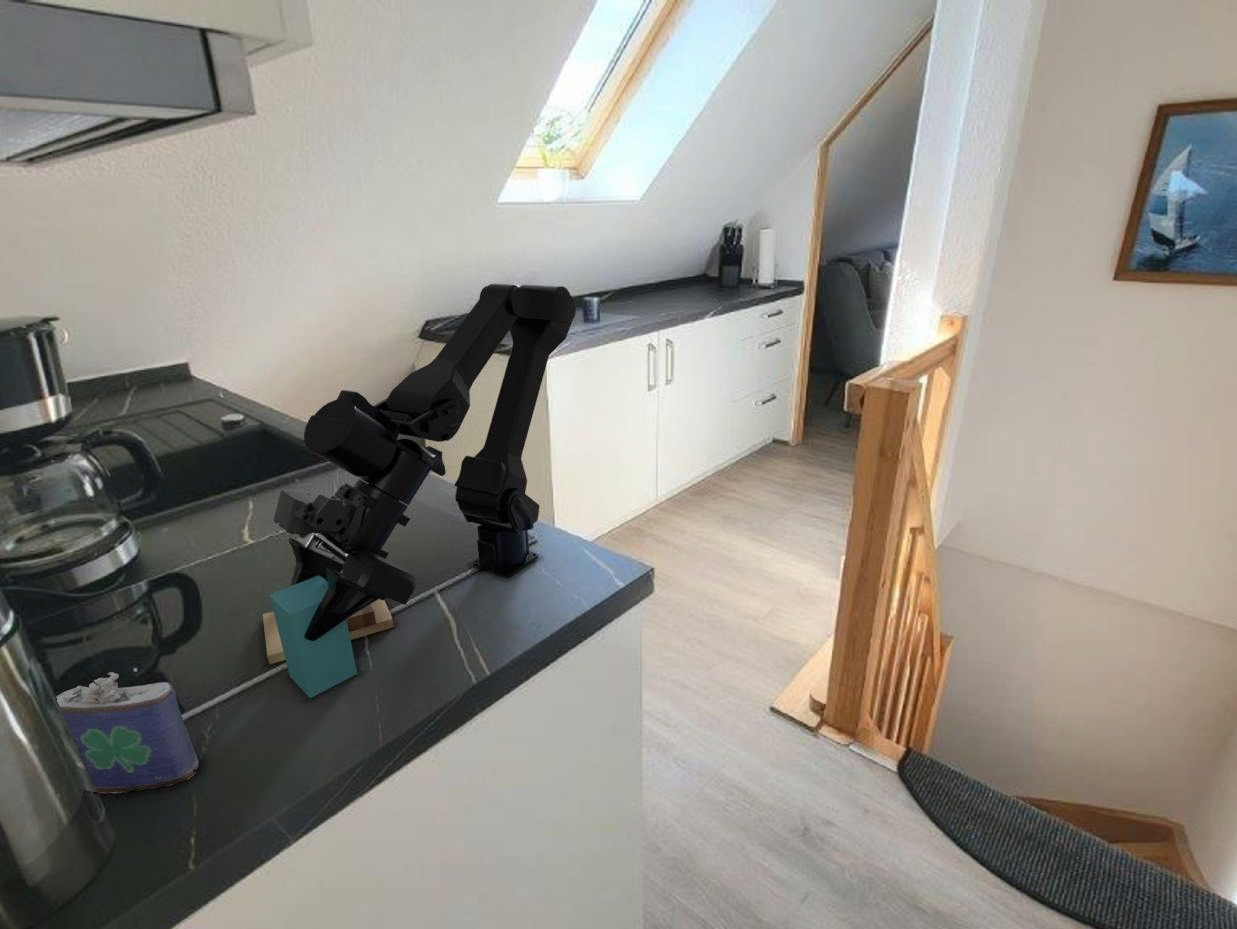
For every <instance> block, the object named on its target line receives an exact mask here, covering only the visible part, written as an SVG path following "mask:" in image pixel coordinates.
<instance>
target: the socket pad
mask: <svg viewBox="0 0 1237 929" xmlns="http://www.w3.org/2000/svg"><path fill="white" fill-rule="evenodd" d="M346 620H347V625H348V630H349V635H350V640H351V641H353V640H355V639H359V638H362V637H366V636H370V635H372V634H376V633H379V632H382V631H385V630H389V629H392V628H394V625H395V624H394V620H393V616H392V614H391V612H390V610H389V608H388V606H387V603H386V600H380V599H378V600H376V601H375V602H373V603H371V604H370V605H368V606H366V607H365V608H363V609H361V610H360V611H358V612H356V613H355V614H353V615H352V616H350V617H349V618H347V619H346ZM262 622H263V629H264V630H263V631H264V639H265V648H266V657H267V662H268V664H269V665H274V664H278V663H281V662H284V661H286V659H285V655H284V651H283V647H282V643H281V640H280V636H279V632H278V628H277V624H276V620H275V616H274V612H273V611H268V612H265V613H262Z"/></svg>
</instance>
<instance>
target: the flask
mask: <svg viewBox="0 0 1237 929" xmlns="http://www.w3.org/2000/svg"><path fill="white" fill-rule="evenodd" d="M107 675H108V676H109V677H99V678H98V677H97V679H94V680H93V682H91V683H90V684H89V685H88V686H82V685H78V686H76V687H74V688H71V689H68V690H64V691H63V692H62V693H60V694H57V695H56V696H55V698H57V702H58V704H59V706H60V708H61V710H62V712H63V714H64V716H65V719H66V721H67V722H68V725H69V727H70V729H71V731H72V734H73V736H74V739H75V740H76V742H77V745H78V748H79V749H80V751H81V755H82V757H83V759H84V762H85V763H86V766H87V769H88V771H89V774H90V776H91V777H92V780H93V781H94V784H95V787H96V788H97V792H98V793H97V794H121V793H129V792H131V791H144V790H152V789H156V788H157V789H158V788H163V787H170V786H173V785H176V784H178V783H182V782H183V783H184V782H185V781H189V780H190V779H191V778H192V777H194V775H196V773H197V771H198V770H199V767H200V766H199V759H198V756H197V754H196V751H195V749H194V747H193V744H192V741H191V739H190V736H189V732H188V729H187V726H186V723H185V722H184V718H183V715H182V712H181V709H180V707H179V703H178V699H177V693H176V690H175V689H174V686H173V685H172V683H171V682H166V681H162V682H155V683H148V684H143V685H134V686H126V687H119V683H118V682H117V680H118V679H119V678H120V675H119V674H118V673H115V672H113V671H110V672H108V673H107Z"/></svg>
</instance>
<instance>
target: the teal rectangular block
mask: <svg viewBox="0 0 1237 929" xmlns="http://www.w3.org/2000/svg"><path fill="white" fill-rule="evenodd" d="M328 586H329V585H328V582H327V581H326V580H325V579H323V578H322V577H321V576H320V575H318V576H315V577H313V578H310V579H308V580H305V581H303V582H300V583H298V584H295V585H293V586H288V587H285V588H283V589H281V590H278V591H275V592H272V593H270V594H269V600H270V603H271V608H272V612H274V616H275V620H276V624H277V628H278V632H279V636H280V640H281V643H282V647H283V651H284V655H285V659H286V660H285V663H286V668H287V671H288V674H289V677H290V678H291V679H292V681H293V682H294V683H295V684H296V685H297V686H298V687H299V688H300V690H301V691H303V693H304V694H305V695H306V696H307V697H308V698H309V699H312V698H314V697H316V696H318V695H320V694H321V693H324V692H326V691H328V690H330V689H332V688H333V687H335V686H337V685H340V684H341V683H343V682H345V681H346V680H348V679H350V678H352V677H354V676H356V675H358V669H357V664H356V660H355V655H354V650H353V645H352V640H350V635H349V630H348V625H347V620H344V621H343V622H341V623H340V624H338V625H337V626H336V627H334V628H333V629H331V630H330V631H328V632H327V633H325V634H324V635H323V636H321V637H320V638H318V639H317V640H315V641H311V640H307V639H306V638H305V637H304V635H305V633H306V631H307V628H308V626H309V624H310V622H311V620H312V618H313V616H314V614H315V612H316V610H317V608H318V606H319V604H320V603H321V601H322V599H323V597H324V595H325V593H326V591H327V589H328Z"/></svg>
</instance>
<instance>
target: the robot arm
mask: <svg viewBox="0 0 1237 929" xmlns="http://www.w3.org/2000/svg"><path fill="white" fill-rule="evenodd" d="M576 313H577V303H576V300H575V298H574V297H573V296H572V294H571V293H570V290H568V288H567V287H565V286H562V285H541V284H540V285H537V284H522V285H518V284H509V283H507V284H506V283H490V284H488V285H485V286H484V287H482V289H481V291H480V293H479V298H478V300H477V302H475V304H474V306H473V307H472V309H471V310H470V311H469V312H468V313H467V315H466V316H465V317H464V319H463V320H462V321H461V323H460V325H459V326H458V327H457V329H456V330H455V331H454V333H453V334H452V335H451V337H450V338H449V340H447V342H446V343H445V344H444V346H442V349H441V350H440V351H439V352H438V354H437V355H436V356H435V358H434V359H433V360H431V362H429V363H428V364H426V365H424V366H422V367H420V368H418V369H416V370H415V371H412V372H410V373H409V374H408V375H407V376H406V377H405V378H403V379H402V381H401V382H399V383H398V384H397V385H396V386H395V387H394V388H393V389H392V390H391V391H390V393H389V394H388V396H387V398H385V399H383V400H381V401H379V402H377V403H376V404H374V405H373V404H371V403H370V401H368V399H367V398H366V397H365V396H364V395H362V394H361V393H359V392H358V391H354V390H346V389H342V390H340V392H339V393H338V396H337V398H336V399H333V400H331V401H329V402H327V403H326V404H324V405H322V406H321V407H320V408H319V409H318V410H317V411H316V412H315V413H314V414H313V415H311V416H310V417H309V419H308V421H307V423H306V425H305V427H304V433H303V441H304V445H305V447H306V448H307V449H308V451H310V452H312V453H313V454H315V455H316V456H319V457H321V458H323V459H324V460H326V461H328V462H329V463H331V464H333V465H335V466H337V467H338V468H340V469H342V470H344V471H345V472H347V473H349V474H351V475H352V476H354V477H359V478H358V479H357V480H356V482H355V483H354V485H353V486H352V485H350V484H348V483H346V482H345V483H344V484H343V485H340V487H339V488H338V489H337V491H336V492H335V494H331V493H324V492H319V491H312V490H311V491H310V490H300V489H290V488H282V489H281V490H280V493H279V495H278V496H279V497H278V500H277V505H276V508H275V512H274V516H273V519H272V520H273V523H275V524H278V526H279V527H280V528H282V529H283V530H284V531H286V532H287V533H288V534H291V535H298V536H297V538H296V539H294V538H291V537H288V543H289V544H288V545H290V546H291V548H292V552H293V555H294V558H295V565H294V571H293V574H292V577H291V582H290V586H293V585H295V584H298V583H300V582H303V581H305V580H308V579H310V578H313V577H315V576H318V575H320V576H321V577H322V578H323V579H325V580H326V581H327V582H328V585H329V586H328V589H327V591H326V593H325V595H324V597H323V599H322V601H321V603H320V604H319V606H318V608H317V610H316V612H315V614H314V616H313V618H312V620H311V622H310V624H309V626H308V628H307V631H306V633H305V635H304V637H305V638H306V639H307V640H311V641H315V640H317V639H318V638H320V637H321V636H323V635H324V634H325V633H327V632H328V631H330V630H331V629H333V628H334V627H336V626H337V625H338V624H340V623H341V622H343V621H344V620H346V619H347V618H349V617H350V616H352V615H353V614H355V613H356V612H358V611H360V610H361V609H363V608H365V607H366V606H368V605H370V604H371V603H373V602H375V601H376V600H378V599H380V600H384V601H386V599H387V598H388V599H389V600H392V601H394V602H397V603H399V604H401V605H404V606H406V605H407V604H408V602H409V601H410V599H411V597H412V595H413V594H414V592H415V590H416V589H417V583H416V577H415V575H414V574H412V573H411V572H409V571H408V570H407V569H405V568H403V567H402V566H400V565H398V564H397V563H395V562H392V561H391V560H388V559H387V557H388V556H389V554H390V553H389V551H387V550H385V549H383V548H384V546H385V544H386V543H387V541H388V539H389V538H390V536H391V534H392V533H393V532H394V530H395V528H396V526H397V525H401V526H402V527H405V528H406V527H407V525H408V523H409V521H410V520H411V518H410V517H408V516H406V515H405V512H406V510H407V509H408V506H410V504H411V502H412V501H413V499H414V498H415V496H416V495H417V493H418V492H419V489H420V488H421V486H422V485H423V483H424V481H425V480H426V478H427V476H428V475H429V474H430V472H432V473H434V474H436V475H438V476H440V477H444V476H445V475H446V466H445V463H444V460H443V451H441V450H439V449H437V448H436V447H433V446H431V445H428V446H425V447H423V446H422V445H421V444H419V443H418V442H416V441H414V440H413V439H409V438H399V435H401V436H403V437H404V436H405V437H410V438H415V439H420V440H426V441H432V442H437V443H442V442H445V441H446V442H448V441H450V440H452V439H453V438H454V437H455V436H456V434H457V433H458V432H459V430H460V429H461V426H462V424H463V422H464V419H465V418H466V416H467V414H468V412H469V410H470V407H471V397H470V396H471V394H470V391H471V388H472V386H473V385H474V383H475V381H476V380H477V378H478V377H479V375H480V373H481V372H482V371H483V369H484V368H485V366H486V365H487V363H488V362H489V361H490V359H491V358H492V356H493V355H494V353H495V352H496V350H497V349H498V347H500V344H501V343H502V342H503V340H504V339H505V337H506V336H507V334H508V333H509V334H510V338H511V342H512V344H511V345H512V346H511V350H510V353H509V356H508V360H507V363H506V367H505V371H504V374H503V378H502V382H501V383H500V384H501V385H500V388H499V392H498V394H497V398H496V402H495V406H494V409H493V413H492V416H491V421H490V424H489V427H488V431H487V434H486V438H485V441H484V445H483V447H482V448H481V449H480V450H479V451H478V452H477V453H476V454H475V455H474V456H471V455H465V456H464V457H463V460H462V461H461V464H460V471H459V473H458V477H457V479H456V480H455V482H454V487H456V489H455V494H454V495H455V497H454V499H455V500H454V501H455V502H456V503H457V506H458V508H459V510H460V512H461V513H462V515H463V517H464V519H465V521H466V522H467V523H470V524H471V523H473V524H477V525H478V526H476V527H477V538H478V539H477V540H476V542H477V543H476V544H477V553H478V558H476V559H474V560H473V561H472V565H473V566H474V567H476V568H479V569H482V570H484V571H487V572H490V573H492V574H495V575H498V576H500V577H504V578H511V577H512V576H513V575H515V574H516V573H518V572H519V571H521V570H522V569H524V568H526V567H527V566H529V565H530V564H531V563H533V562H534V561H536V560H537V559H538V558H539V553H537V552H534V551H531V550H530V543H529V531H531V530H533V529H534V527H535V526H534V524H536V522H538V520H539V515H540V504H539V503H538V502H536V501H535V500H534V499H532V497H530V496H528V494H527V493H526V490H527V485H528V478H527V474H526V470H525V467H524V464H523V460H522V458H523V452H524V450H525V449H524V448H525V444H526V441H527V438H528V433H529V430H530V427H531V423H532V419H533V416H534V412H535V408H536V404H537V402H538V397H539V393H540V390H541V386H542V382H543V379H544V376H545V372H546V368H547V364H548V360H549V357H550V355H551V354H552V353H553V352H554V351H555V350H556V349H557V348H558V347H559V346H560V345H561V344H562V343H563V342H564V341H565V340H566V339H567V337H568V334H569V331H570V329H571V325H572V323H573V322H574V319H575V316H576ZM398 438H399V439H398ZM340 560H341V561H340ZM290 586H289V587H290Z"/></svg>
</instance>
